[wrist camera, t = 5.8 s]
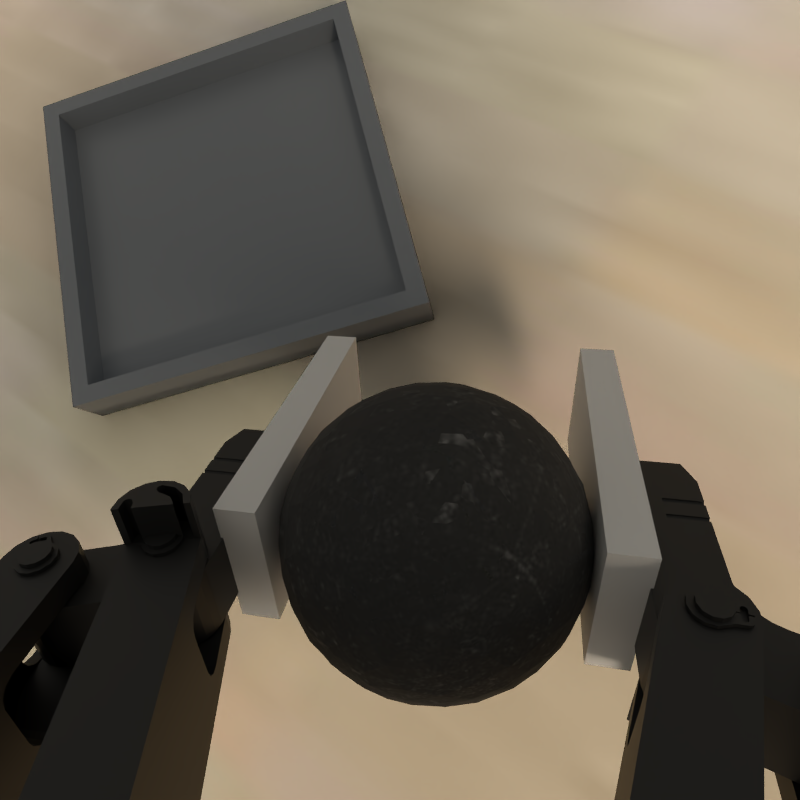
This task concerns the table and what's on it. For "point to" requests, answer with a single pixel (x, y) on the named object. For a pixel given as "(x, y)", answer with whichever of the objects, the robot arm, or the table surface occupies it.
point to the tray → (226, 215)
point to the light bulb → (436, 544)
